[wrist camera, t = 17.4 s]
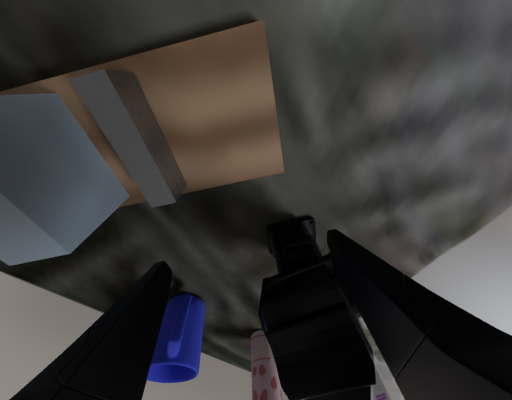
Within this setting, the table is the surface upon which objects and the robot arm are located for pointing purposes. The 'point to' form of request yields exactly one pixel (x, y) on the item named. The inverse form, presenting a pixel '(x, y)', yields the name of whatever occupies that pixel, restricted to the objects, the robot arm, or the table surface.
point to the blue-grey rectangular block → (49, 180)
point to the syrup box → (382, 373)
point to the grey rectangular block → (132, 132)
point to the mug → (179, 341)
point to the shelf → (195, 107)
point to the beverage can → (263, 369)
